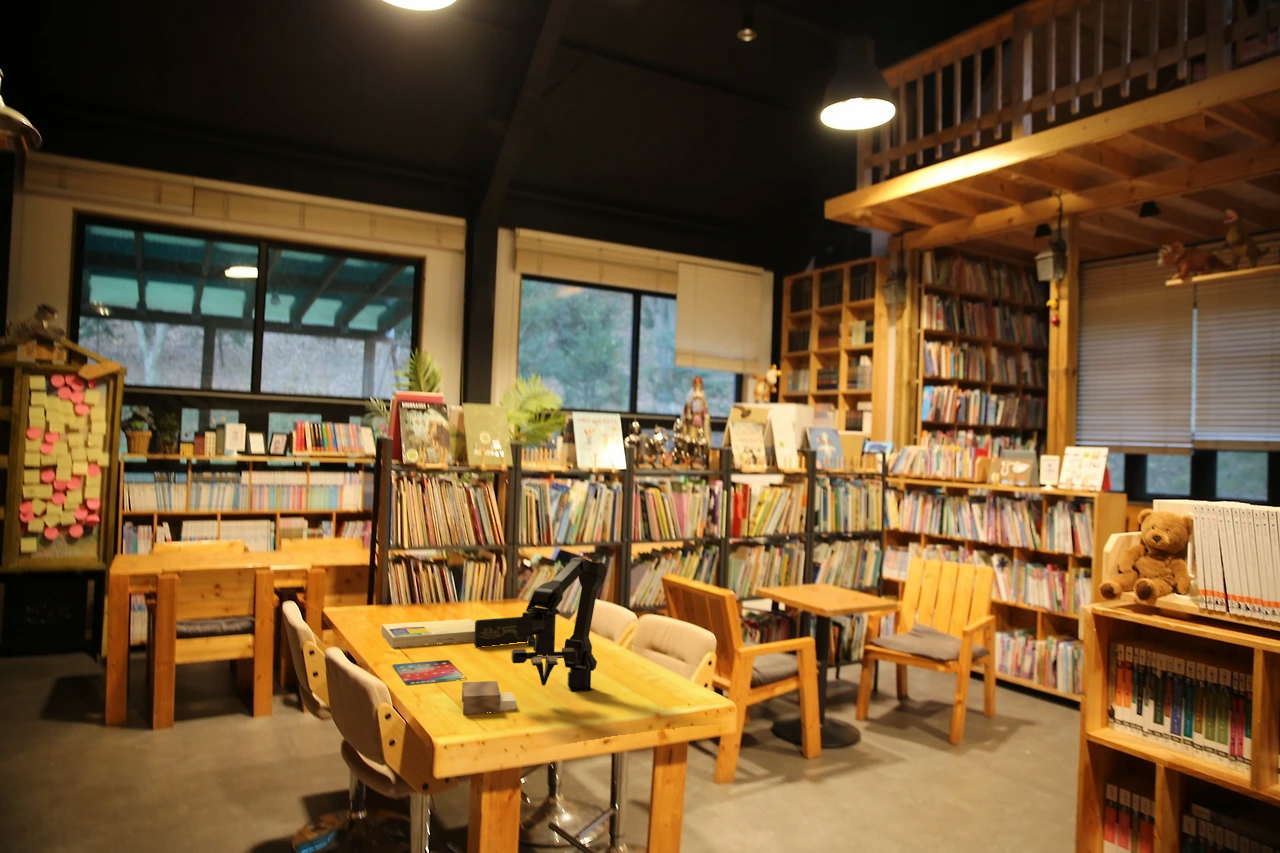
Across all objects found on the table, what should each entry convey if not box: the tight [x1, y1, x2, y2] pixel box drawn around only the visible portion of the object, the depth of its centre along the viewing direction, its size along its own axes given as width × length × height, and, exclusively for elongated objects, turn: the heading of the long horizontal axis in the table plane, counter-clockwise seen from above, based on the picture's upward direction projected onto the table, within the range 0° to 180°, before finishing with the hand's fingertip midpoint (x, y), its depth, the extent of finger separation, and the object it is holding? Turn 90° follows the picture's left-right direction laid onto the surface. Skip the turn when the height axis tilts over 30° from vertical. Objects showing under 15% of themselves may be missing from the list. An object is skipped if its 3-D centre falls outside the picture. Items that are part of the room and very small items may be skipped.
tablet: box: [392, 659, 467, 686], centre depth 269 cm, size 19×25×1 cm
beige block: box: [500, 691, 517, 711], centre depth 235 cm, size 10×8×3 cm
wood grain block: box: [461, 680, 501, 715], centre depth 235 cm, size 10×14×5 cm
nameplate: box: [473, 616, 528, 648], centre depth 310 cm, size 21×2×10 cm, turn 119°
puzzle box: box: [380, 618, 476, 649], centre depth 318 cm, size 36×5×24 cm
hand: (543, 685), depth 239 cm, fingers closed
